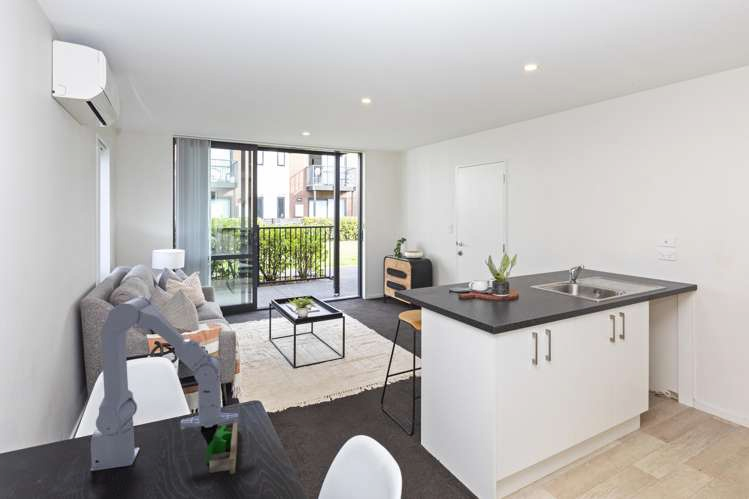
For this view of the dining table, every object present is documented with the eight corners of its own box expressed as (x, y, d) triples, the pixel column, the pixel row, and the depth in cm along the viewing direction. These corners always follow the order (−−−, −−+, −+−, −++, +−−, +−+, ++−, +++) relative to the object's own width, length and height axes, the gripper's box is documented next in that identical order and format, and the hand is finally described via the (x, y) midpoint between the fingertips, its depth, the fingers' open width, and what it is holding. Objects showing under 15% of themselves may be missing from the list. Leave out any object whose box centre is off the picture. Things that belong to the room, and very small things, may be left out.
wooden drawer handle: (208, 477, 103) (208, 461, 103) (216, 433, 124) (216, 420, 124) (234, 473, 105) (234, 457, 104) (238, 430, 126) (237, 417, 125)
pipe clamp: (219, 464, 109) (221, 448, 109) (205, 462, 109) (207, 446, 109) (234, 441, 120) (235, 426, 120) (221, 439, 120) (222, 424, 120)
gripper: (178, 412, 106) (179, 462, 108) (236, 405, 110) (237, 454, 112) (182, 400, 113) (183, 447, 114) (237, 394, 117) (238, 440, 118)
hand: (210, 449), depth 113 cm, fingers closed, pressing on pipe clamp
